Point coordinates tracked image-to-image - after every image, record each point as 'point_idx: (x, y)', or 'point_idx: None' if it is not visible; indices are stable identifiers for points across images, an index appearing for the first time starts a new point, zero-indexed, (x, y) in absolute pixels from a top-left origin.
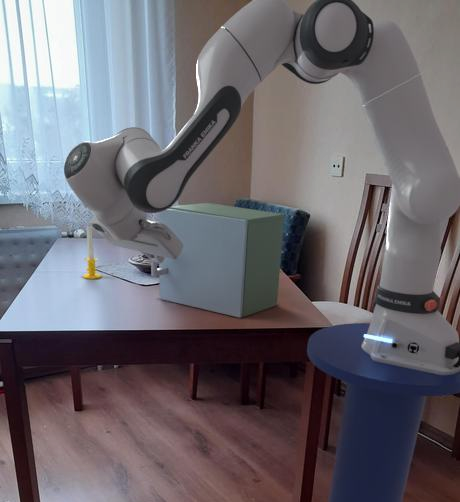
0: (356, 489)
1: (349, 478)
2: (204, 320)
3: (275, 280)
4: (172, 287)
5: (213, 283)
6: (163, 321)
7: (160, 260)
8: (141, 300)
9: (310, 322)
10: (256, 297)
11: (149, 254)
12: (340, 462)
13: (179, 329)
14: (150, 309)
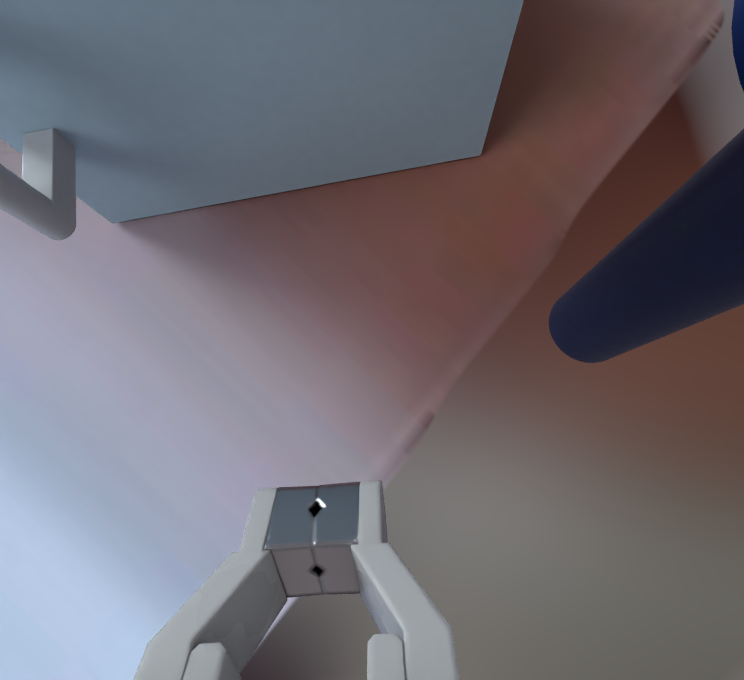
0: (740, 303)
1: (734, 298)
2: (413, 268)
3: None
4: (142, 178)
5: (347, 96)
6: (320, 397)
7: (386, 538)
8: (71, 285)
9: (662, 10)
10: None
11: (271, 606)
12: (716, 284)
13: (432, 416)
14: (177, 335)
